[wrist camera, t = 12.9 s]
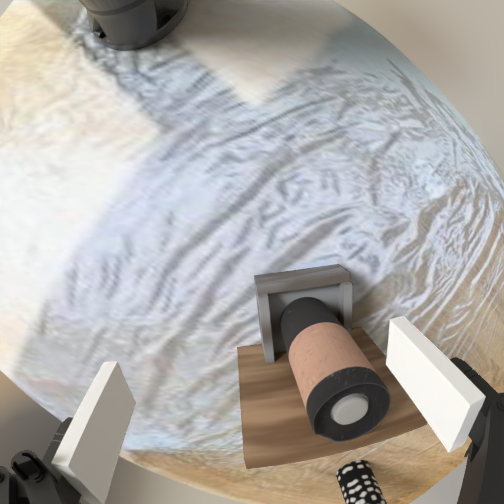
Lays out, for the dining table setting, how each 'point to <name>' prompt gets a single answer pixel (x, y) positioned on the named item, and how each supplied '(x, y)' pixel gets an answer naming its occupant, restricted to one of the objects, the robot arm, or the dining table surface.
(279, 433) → the l-shaped stand
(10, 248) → the dining table surface
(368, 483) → the white-spotted black cylinder
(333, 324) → the travel mug
